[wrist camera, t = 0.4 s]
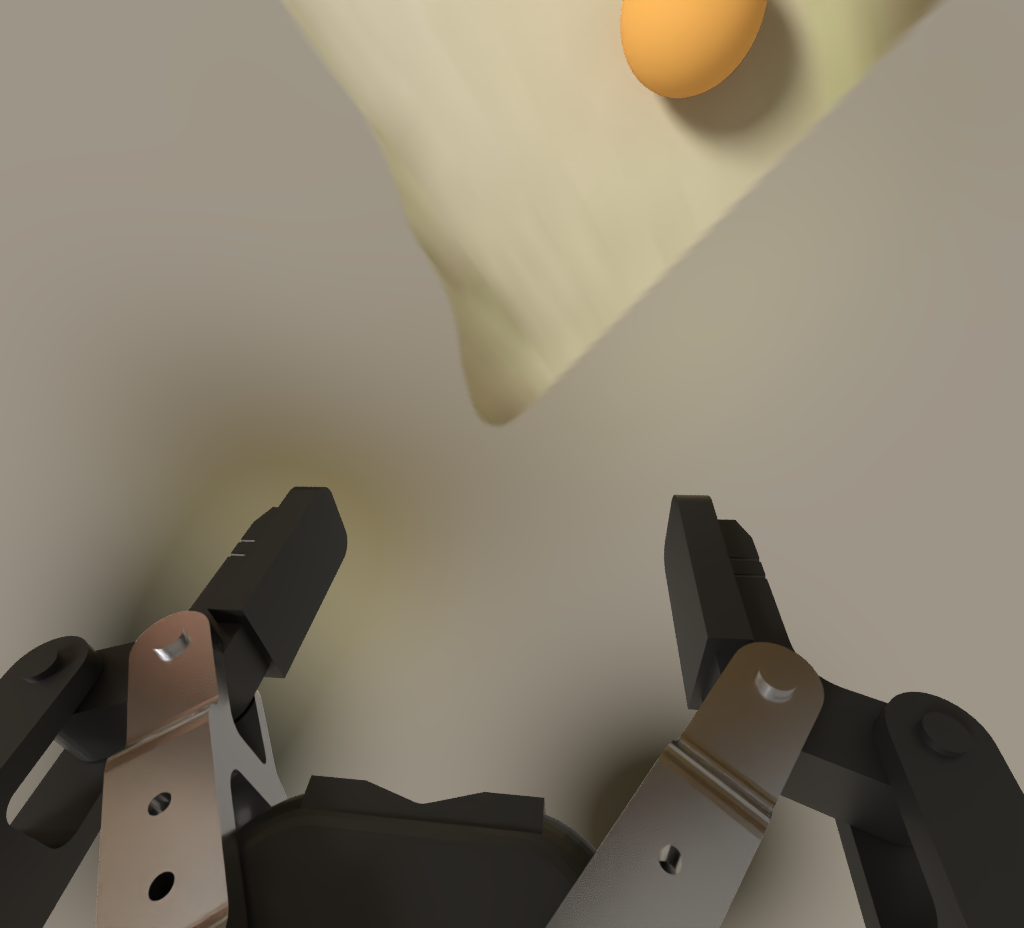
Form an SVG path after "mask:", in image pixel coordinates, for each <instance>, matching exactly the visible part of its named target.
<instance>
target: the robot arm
mask: <svg viewBox="0 0 1024 928" xmlns="http://www.w3.org/2000/svg"><path fill="white" fill-rule="evenodd" d="M346 550H347V534H346V531H345V528H344V525H343V522H342V520H341V517H340V514H339V512H338V509H337V506H336V504H335V501H334V498H333V495H332V493H331V491H330V490H329V489H328V488H327V487H294V488H292V489H291V490H290V491H289V493H288V494H287V495H286V497H285V499H284V500H283V501H282V503H281V504H280V506H279V507H272V508H271V509H270V510H269V511H268V512H266V513H265V514H263V515H262V516H261V517H260V518H258V519H257V520H256V521H254V523H253V524H252V525H251V527H250V528H249V529H248V530H247V532H246V533H245V535H244V536H243V537H242V539H241V543H240V542H239V543H238V544H237V545H236V547H235V548H234V550H233V551H232V552H231V557H228V558H227V559H226V560H225V562H224V563H223V565H222V566H221V567H220V569H219V570H218V571H217V573H216V574H215V576H214V577H213V578H212V579H211V581H210V582H209V584H208V585H207V586H206V588H205V589H204V590H203V592H202V593H201V594H200V596H199V597H198V599H197V600H196V601H195V603H194V604H193V605H192V607H191V608H190V609H189V610H188V611H183V612H179V613H175V614H172V615H170V616H167V617H165V618H163V619H161V620H160V621H158V622H156V623H155V624H153V625H152V626H151V627H149V628H148V629H147V630H146V631H145V632H144V633H143V634H142V635H141V636H140V637H139V638H138V639H137V641H136V642H132V643H128V644H124V645H119V646H114V647H110V648H106V649H102V650H97V651H95V650H94V649H93V648H92V647H91V646H90V645H89V644H88V643H87V642H86V641H85V640H84V639H82V638H80V637H77V636H65V637H61V638H57V639H54V640H51V641H49V642H46V643H44V644H42V645H40V646H38V647H36V648H35V649H33V650H32V651H30V652H28V653H27V654H26V655H24V656H23V657H22V658H20V659H19V660H18V661H17V662H16V663H15V664H14V665H13V666H12V667H11V668H10V669H9V670H8V671H7V672H6V673H5V675H3V677H2V678H1V679H0V928H43V926H44V924H45V922H46V921H47V919H48V917H49V916H50V914H51V912H52V911H53V909H54V907H55V906H56V903H57V902H58V900H59V899H60V897H61V895H62V894H63V892H64V890H65V888H66V887H67V885H68V883H69V882H70V880H71V878H72V877H73V875H74V873H75V872H76V870H77V868H78V866H79V865H80V863H81V861H82V860H83V858H84V856H85V855H86V853H87V851H88V850H89V848H90V846H91V844H92V843H93V841H94V839H95V838H96V836H97V834H98V833H99V831H100V829H101V835H100V852H99V869H98V886H97V903H96V920H95V928H719V927H720V925H721V923H722V921H723V919H724V917H725V915H726V913H727V910H728V908H729V906H730V904H731V902H732V900H733V898H734V896H735V894H736V892H737V890H738V887H739V885H740V883H741V881H742V879H743V877H744V875H745V873H746V871H747V868H748V866H749V864H750V862H751V860H752V858H753V856H754V854H755V852H756V850H757V847H758V845H759V843H760V841H761V839H762V837H763V835H764V833H765V830H766V828H767V826H768V824H769V821H770V819H771V816H772V811H773V809H774V806H775V804H776V802H777V800H778V798H779V796H780V795H782V796H784V797H787V798H789V799H791V800H794V801H796V802H798V803H801V804H803V805H805V806H807V807H810V808H812V809H815V810H817V811H819V812H821V813H824V814H826V815H828V816H831V817H833V818H835V820H836V824H837V827H838V831H839V834H840V838H841V842H842V845H843V849H844V852H845V855H846V859H847V863H848V866H849V870H850V873H851V877H852V880H853V884H854V887H855V891H856V894H857V898H858V902H859V905H860V909H861V912H862V916H863V919H864V923H865V926H866V928H1024V794H1023V792H1022V790H1021V789H1020V787H1019V785H1018V783H1017V781H1016V780H1015V778H1014V776H1013V774H1012V772H1011V771H1010V769H1009V767H1008V765H1007V763H1006V762H1005V760H1004V758H1003V756H1002V755H1001V753H1000V751H999V749H998V747H997V746H996V744H995V742H994V741H993V739H992V737H991V736H990V735H989V734H988V732H987V731H986V730H985V729H984V727H983V726H982V725H981V724H980V723H978V722H977V721H976V719H974V718H973V717H972V716H971V715H969V714H968V713H967V712H966V711H964V710H963V709H961V708H960V707H958V706H956V705H954V704H953V703H951V702H949V701H947V700H945V699H942V698H940V697H937V696H934V695H931V694H927V693H921V692H906V693H902V694H899V695H897V696H895V697H894V698H893V699H891V701H890V702H889V703H885V702H882V701H879V700H877V699H873V698H870V697H868V696H865V695H862V694H859V693H856V692H853V691H850V690H847V689H844V688H841V687H839V686H837V685H834V684H832V683H830V682H828V681H826V680H825V679H823V678H822V677H820V676H818V674H817V673H816V672H815V670H814V669H813V667H812V666H811V665H810V664H809V663H808V662H807V661H806V660H805V659H803V658H802V657H801V656H800V655H798V654H797V653H795V651H794V649H793V648H792V645H791V643H790V641H789V638H788V635H787V633H786V630H785V627H784V624H783V622H782V619H781V616H780V613H779V611H778V608H777V605H776V602H775V600H774V597H773V595H772V591H771V589H770V586H769V583H768V581H767V579H765V572H764V570H763V567H762V564H761V562H759V556H758V553H757V550H756V548H755V545H754V542H753V540H752V538H751V536H750V535H749V534H748V533H747V532H746V531H745V530H744V529H743V528H742V527H741V526H740V525H739V524H738V522H737V521H736V520H718V519H717V516H716V513H715V509H714V506H713V503H712V500H711V498H710V496H704V495H674V496H673V498H672V502H671V508H670V514H669V521H668V527H667V533H666V539H665V548H664V563H665V573H666V579H667V585H668V591H669V597H670V603H671V609H672V615H673V621H674V627H675V633H676V639H677V645H678V651H679V657H680V664H681V670H682V676H683V681H684V688H685V693H686V700H687V706H688V709H694V710H698V711H697V712H696V714H695V715H694V717H693V718H692V720H691V721H690V723H689V725H688V726H687V728H686V729H685V731H684V732H683V734H682V735H681V736H680V738H679V739H678V740H677V741H672V742H671V743H670V744H669V745H668V746H667V748H666V749H665V750H664V752H663V753H662V754H661V756H660V757H659V759H658V760H657V761H656V763H655V765H654V766H653V768H652V769H651V771H650V772H649V773H648V775H647V777H646V778H645V780H644V781H643V783H642V784H641V786H640V787H639V788H638V790H637V791H636V793H635V795H634V796H633V798H632V799H631V800H630V802H629V804H628V805H627V806H626V808H625V809H624V811H623V812H622V814H621V815H620V817H619V818H618V820H617V821H616V823H615V824H614V826H613V827H612V829H611V830H610V832H609V833H608V835H607V836H606V838H605V839H604V841H603V843H602V844H601V845H600V847H599V848H598V850H595V848H594V847H593V846H592V845H591V844H590V843H589V842H588V841H587V840H586V839H585V838H583V837H582V836H581V835H580V834H578V833H577V832H576V831H575V830H573V829H572V828H570V827H569V826H567V825H565V824H564V823H562V822H561V821H559V820H557V819H555V818H552V817H550V816H548V815H546V814H545V801H544V798H540V797H530V796H520V795H509V794H498V793H489V792H483V793H477V794H472V795H467V796H463V797H457V798H452V799H447V800H442V801H437V802H432V803H426V804H419V803H415V802H413V801H411V800H409V799H406V798H404V797H402V796H400V795H397V794H395V793H393V792H391V791H388V790H386V789H384V788H382V787H379V786H377V785H375V784H373V783H370V782H368V781H365V780H355V779H345V778H334V777H324V776H313V775H312V776H311V778H310V781H309V784H308V786H307V789H306V791H305V794H301V795H298V796H295V797H292V798H289V799H287V797H286V794H285V792H284V789H283V787H282V785H281V783H280V781H279V778H278V776H277V773H276V769H275V765H274V760H273V755H272V750H271V745H270V740H269V735H268V730H267V725H266V720H265V715H264V710H263V705H262V700H261V696H260V693H259V692H258V690H257V689H258V687H259V685H260V683H261V681H262V679H263V677H274V678H285V676H286V674H287V672H288V670H289V668H290V666H291V664H292V662H293V660H294V658H295V656H296V654H297V652H298V650H299V648H300V646H301V644H302V642H303V640H304V638H305V636H306V634H307V632H308V630H309V628H310V626H311V624H312V622H313V620H314V618H315V616H316V614H317V612H318V610H319V608H320V605H321V604H322V601H323V599H324V597H325V595H326V593H327V591H328V589H329V587H330V585H331V583H332V581H333V579H334V577H335V575H336V573H337V571H338V569H339V567H340V565H341V563H342V561H343V559H344V557H345V554H346ZM53 740H54V741H56V742H57V743H58V744H60V745H61V746H62V747H63V748H65V749H64V750H63V752H62V753H61V754H60V756H59V757H58V759H57V760H56V761H55V763H54V764H53V766H52V767H51V769H50V770H49V771H48V773H47V774H46V775H45V777H44V778H43V780H42V781H41V783H40V784H39V785H38V787H37V788H36V790H35V791H34V792H33V794H32V795H31V797H30V798H29V799H28V801H27V802H26V803H25V805H24V806H23V808H22V809H21V810H20V812H19V813H18V815H17V816H16V817H15V819H14V820H13V822H12V823H11V824H10V825H9V824H8V822H7V819H6V811H7V807H8V804H9V801H10V799H11V797H12V796H13V794H14V793H15V791H16V790H17V789H18V787H19V786H20V784H21V783H22V782H23V781H24V779H25V778H26V776H27V775H28V774H29V772H30V771H31V770H32V768H33V767H34V766H35V764H36V763H37V761H38V760H39V759H40V758H41V756H42V755H43V753H44V752H45V751H46V749H47V748H48V747H49V745H50V744H51V743H52V741H53Z"/></svg>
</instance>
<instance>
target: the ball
mask: <svg viewBox="0 0 1024 928" xmlns="http://www.w3.org/2000/svg"><path fill="white" fill-rule="evenodd" d="M766 4H767V0H623V4H622V9H621V21H620V22H621V39H622V46H623V50H624V54H625V57H626V59H627V62H628V64H629V66H630V68H631V70H632V72H633V73H634V75H635V76H636V78H637V79H638V80H639V81H640V82H641V83H642V84H643V85H644V86H645V87H647V88H648V89H649V90H651V91H653V92H654V93H656V94H659V95H662V96H665V97H670V98H685V97H691V96H695V95H698V94H701V93H703V92H705V91H707V90H709V89H711V88H713V87H714V86H716V85H718V84H719V83H720V82H722V81H723V80H724V79H725V78H727V77H728V76H729V75H730V74H731V73H732V72H733V71H734V70H735V69H736V67H737V66H738V65H739V64H740V63H741V61H742V60H743V59H744V57H745V56H746V54H747V53H748V51H749V50H750V48H751V46H752V44H753V42H754V40H755V39H756V36H757V34H758V31H759V29H760V27H761V24H762V20H763V17H764V14H765V9H766Z"/></svg>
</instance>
